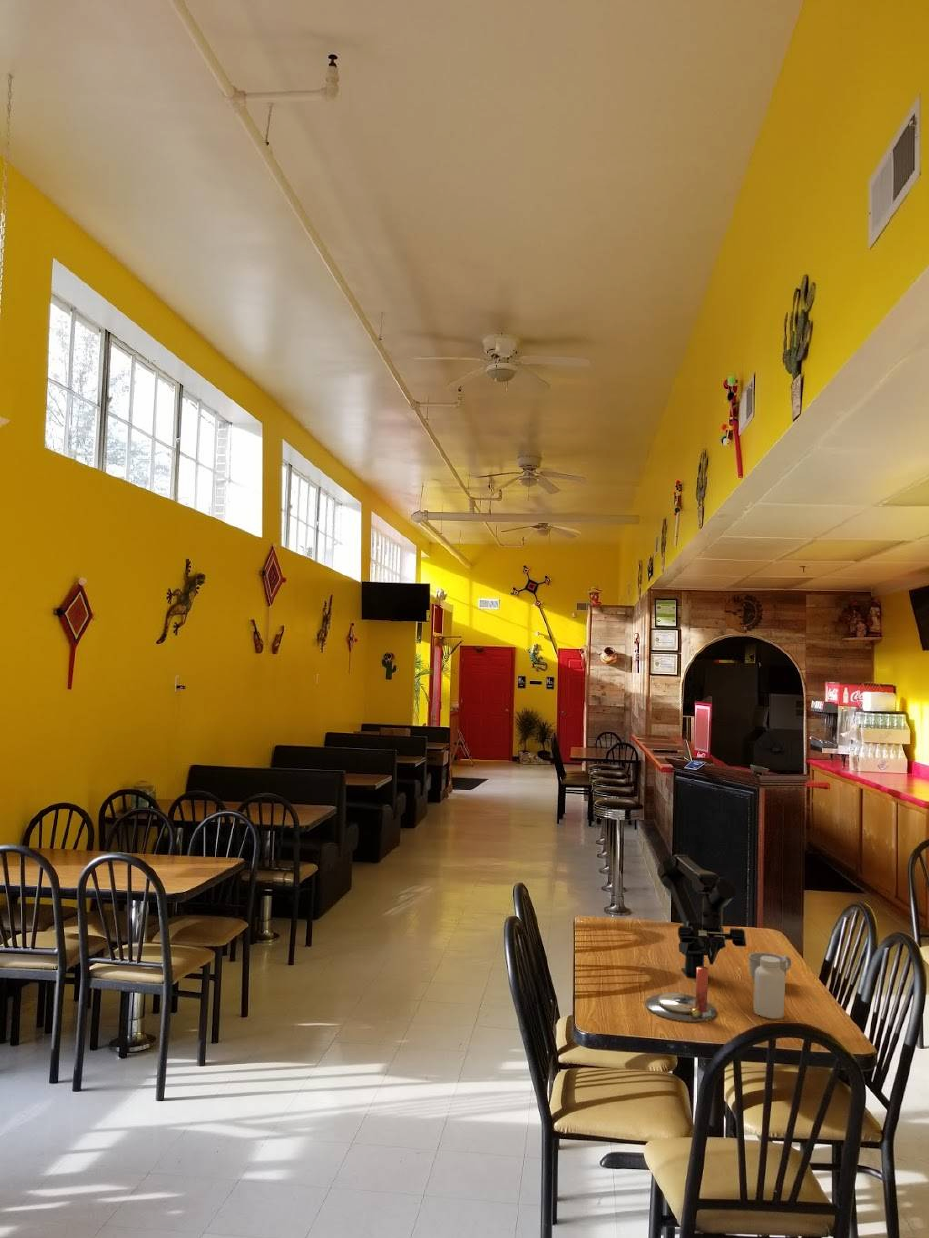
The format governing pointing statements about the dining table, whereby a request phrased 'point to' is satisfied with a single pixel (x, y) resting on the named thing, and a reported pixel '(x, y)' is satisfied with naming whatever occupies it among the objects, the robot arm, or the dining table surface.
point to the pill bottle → (769, 988)
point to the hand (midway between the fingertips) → (711, 963)
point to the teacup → (756, 956)
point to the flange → (689, 997)
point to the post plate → (658, 1010)
